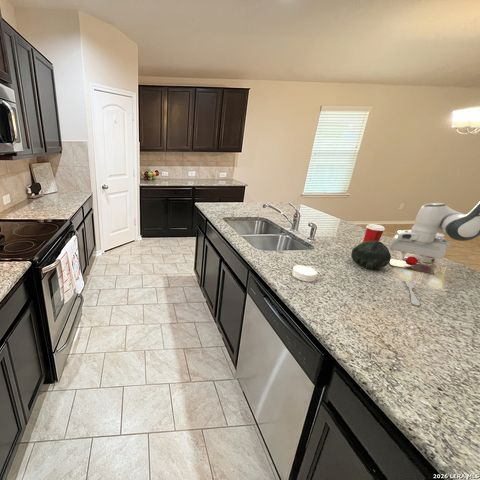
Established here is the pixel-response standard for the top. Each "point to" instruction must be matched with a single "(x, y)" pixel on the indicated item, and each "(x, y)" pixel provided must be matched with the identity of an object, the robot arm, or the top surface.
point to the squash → (371, 254)
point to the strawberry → (411, 260)
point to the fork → (412, 294)
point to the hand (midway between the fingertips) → (410, 261)
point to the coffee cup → (373, 232)
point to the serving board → (410, 266)
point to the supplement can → (428, 259)
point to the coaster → (304, 273)
